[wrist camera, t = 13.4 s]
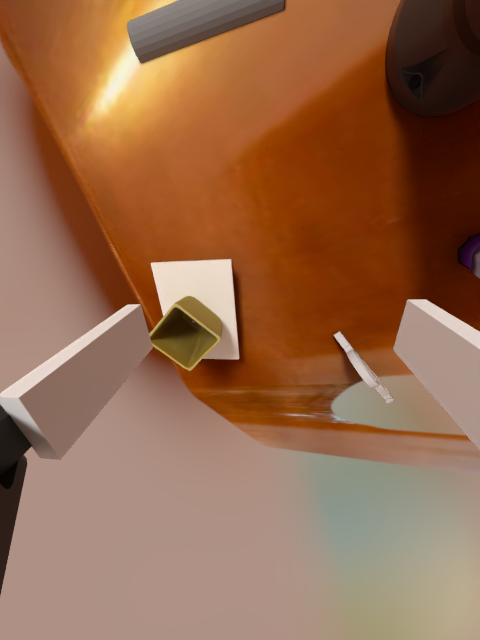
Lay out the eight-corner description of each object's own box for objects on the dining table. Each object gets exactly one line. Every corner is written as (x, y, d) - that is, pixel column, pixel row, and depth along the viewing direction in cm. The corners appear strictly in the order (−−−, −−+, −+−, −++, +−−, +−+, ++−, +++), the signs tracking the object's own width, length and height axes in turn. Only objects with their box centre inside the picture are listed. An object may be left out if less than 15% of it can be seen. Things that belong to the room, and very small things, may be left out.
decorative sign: (376, 372, 52) (402, 412, 44) (370, 375, 53) (395, 414, 44) (338, 328, 45) (361, 366, 36) (332, 332, 45) (353, 370, 37)
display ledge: (234, 255, 40) (230, 259, 37) (241, 348, 49) (239, 359, 46) (160, 258, 42) (150, 263, 39) (180, 347, 51) (173, 358, 48)
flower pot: (193, 283, 39) (174, 302, 32) (231, 314, 41) (222, 340, 33) (167, 315, 43) (144, 340, 35) (203, 342, 45) (189, 372, 37)
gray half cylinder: (285, 14, 27) (286, 2, 26) (142, 67, 31) (135, 59, 29) (281, -41, 26) (282, -57, 24) (130, 23, 29) (122, 12, 28)
